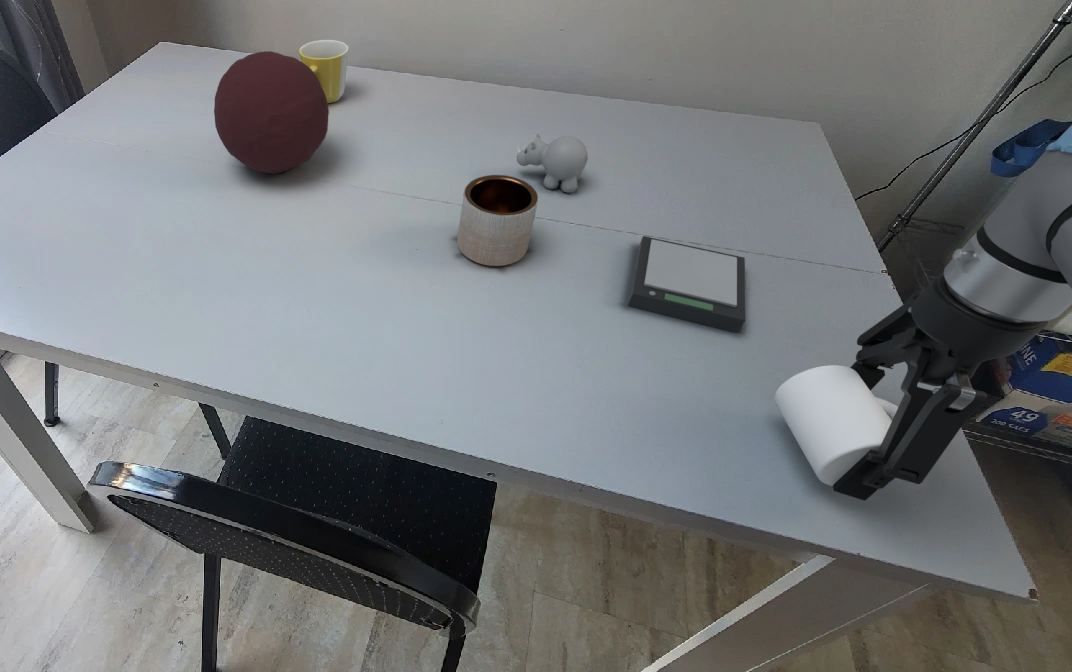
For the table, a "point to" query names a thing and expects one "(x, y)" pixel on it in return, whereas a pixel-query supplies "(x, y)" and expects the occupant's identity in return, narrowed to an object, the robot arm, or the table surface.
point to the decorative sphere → (271, 112)
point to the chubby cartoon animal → (556, 160)
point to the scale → (689, 284)
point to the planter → (496, 219)
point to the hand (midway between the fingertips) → (841, 447)
